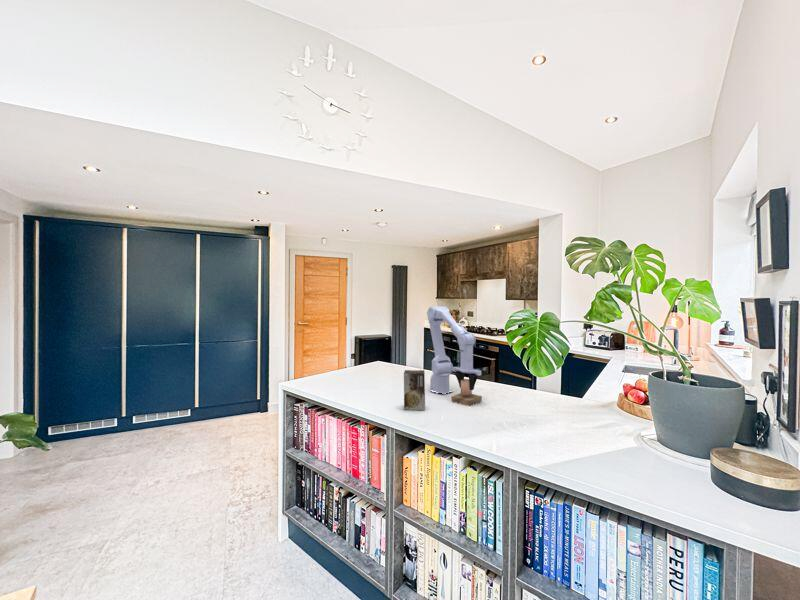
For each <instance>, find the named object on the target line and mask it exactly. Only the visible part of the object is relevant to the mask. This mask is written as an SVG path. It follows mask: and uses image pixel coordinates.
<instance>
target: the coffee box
mask: <svg viewBox="0 0 800 600" xmlns="http://www.w3.org/2000/svg"><path fill="white" fill-rule="evenodd" d="M425 372H426V371H425V370H424V369H423V370H422V369H406V370H404V372H403V395H404V396H403V410H404V411H426V383H425V382H426V379H425V378H426V377H425Z"/></svg>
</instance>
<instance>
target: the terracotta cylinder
mask: <svg viewBox="0 0 800 600" xmlns="http://www.w3.org/2000/svg"><path fill="white" fill-rule="evenodd" d="M472 392H473V390H470V382H469V378H464V379H462V380H461V388H460V393H461V394H464V395H470V394H473V393H472Z"/></svg>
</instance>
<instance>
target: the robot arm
mask: <svg viewBox="0 0 800 600" xmlns="http://www.w3.org/2000/svg"><path fill="white" fill-rule="evenodd" d="M450 312H451V311H450V309H449V308H448V307H447V306H446V305H443V306H442V305H441V306H432V305H431V306H429V307H428V309H427V312H426V314H427V320H428V324H429V329H430V334H431V340H432V346H433V350H434V357H433V359H432V360H431V372H432V375H431V376H430V381H429V382H430V385H429V386H430V388H429V389H430V390H433V391H436V392H438V393H442V394H445V393H448V392H449V390H450V375H451V373H452V372H454V375H455V377H456V379H457V382H458V386H459V388H460V389H461V380H462V379H465V374H469V375H467V377H468V379H469V382H470V390H472V391H474V389H475V385H476V383H477V380H478V378H479V376H480V377H481V376H482V370H480V369H475V368H474V355H473V354H474V346H475V344H476V342H477V341H476V336H475V334H474V333H472V332H470V331H469V332H468V330H467V329H466V328H465V326H463V324H462V323H459V322H457V321H456V320H455V319H454V317H453V316H452V314H451V313H450ZM444 322H445V323H446V324H447V325H448V326H449V327H450V331H451V333H452V334H453V335H454V336H455V338H456V339H457V344H458V346H459V348H458V349H459V350H460V351H459V352H460V353H459V355H460V361H459V362H460V366H454V365H453V363H452V362H451V358H450V357H449V356H448V355H447V354H446V349H445V344H444V339H443V334H442V330H441V329H442V328H441V324H443V323H444ZM430 390H429V391H430ZM438 393H437V394H438ZM442 394H441V395H442ZM448 394H449V393H448ZM445 395H446V394H445Z"/></svg>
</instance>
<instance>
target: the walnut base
mask: <svg viewBox="0 0 800 600" xmlns="http://www.w3.org/2000/svg"><path fill="white" fill-rule="evenodd" d="M451 401H453V402H452V403H455V402H457V403H456V404H459V403H461V404H460V405H463V404H464V405H463V406H467V405H468V406H467V407H472V406H474V405H476V403H477V404H479V403H481V402H480V401H482V402H483V397H482V395H478V394H473V393H472V394H470V395H464V394H461V392H460V393H457V394H454V395H451ZM478 402H479V403H478ZM473 404H474V405H473ZM471 405H472V406H471Z"/></svg>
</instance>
